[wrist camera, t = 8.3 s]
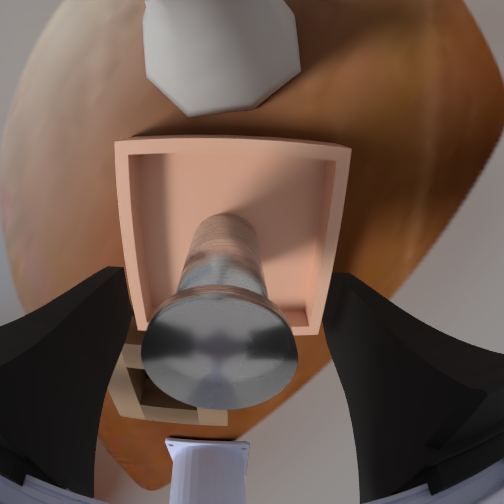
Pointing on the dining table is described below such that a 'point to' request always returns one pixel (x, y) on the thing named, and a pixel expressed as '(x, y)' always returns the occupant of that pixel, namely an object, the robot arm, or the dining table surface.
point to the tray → (232, 212)
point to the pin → (220, 325)
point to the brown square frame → (151, 391)
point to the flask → (219, 52)
